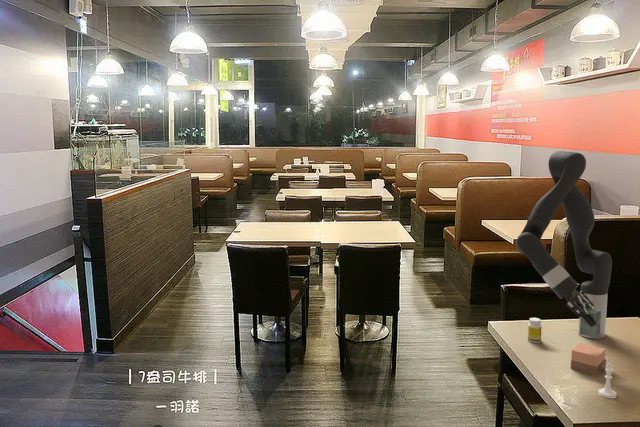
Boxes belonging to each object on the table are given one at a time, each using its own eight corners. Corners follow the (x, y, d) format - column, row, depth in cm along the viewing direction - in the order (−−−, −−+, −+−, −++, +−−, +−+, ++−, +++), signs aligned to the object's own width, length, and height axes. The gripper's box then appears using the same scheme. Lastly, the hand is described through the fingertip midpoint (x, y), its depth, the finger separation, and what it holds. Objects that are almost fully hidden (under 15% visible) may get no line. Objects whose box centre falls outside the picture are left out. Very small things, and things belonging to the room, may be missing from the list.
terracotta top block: (579, 352, 187) (580, 342, 187) (604, 358, 182) (605, 349, 181) (571, 360, 181) (571, 350, 181) (597, 366, 176) (597, 356, 175)
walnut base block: (581, 362, 188) (581, 352, 187) (605, 369, 182) (606, 359, 181) (570, 369, 182) (571, 359, 182) (595, 377, 176) (595, 366, 176)
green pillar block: (585, 330, 183) (587, 307, 182) (599, 333, 180) (601, 310, 179) (579, 333, 181) (581, 310, 179) (593, 337, 177) (595, 313, 176)
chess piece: (616, 399, 161) (618, 368, 159) (597, 396, 164) (599, 364, 162) (617, 392, 165) (619, 361, 163) (599, 389, 168) (600, 358, 166)
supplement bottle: (542, 343, 203) (543, 321, 202) (528, 342, 204) (529, 321, 203) (539, 338, 208) (540, 317, 207) (526, 337, 209) (527, 316, 208)
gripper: (562, 279, 177) (600, 322, 171) (574, 270, 188) (611, 310, 182) (544, 292, 181) (581, 335, 175) (558, 282, 192) (593, 322, 186)
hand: (596, 322), depth 179 cm, fingers closed on green pillar block, 5 cm apart
